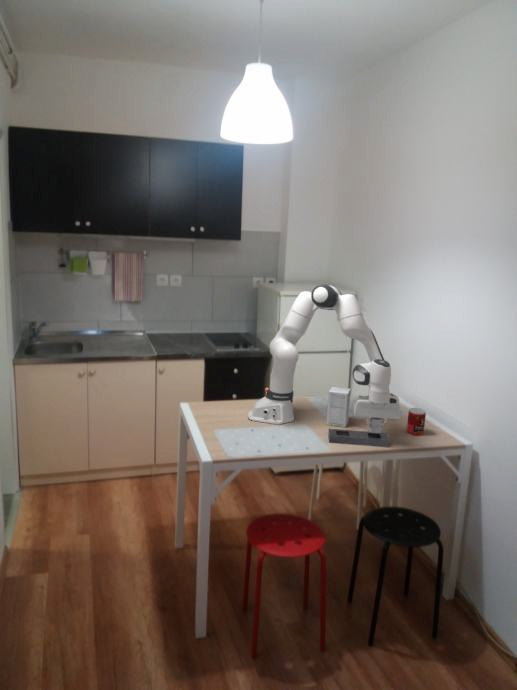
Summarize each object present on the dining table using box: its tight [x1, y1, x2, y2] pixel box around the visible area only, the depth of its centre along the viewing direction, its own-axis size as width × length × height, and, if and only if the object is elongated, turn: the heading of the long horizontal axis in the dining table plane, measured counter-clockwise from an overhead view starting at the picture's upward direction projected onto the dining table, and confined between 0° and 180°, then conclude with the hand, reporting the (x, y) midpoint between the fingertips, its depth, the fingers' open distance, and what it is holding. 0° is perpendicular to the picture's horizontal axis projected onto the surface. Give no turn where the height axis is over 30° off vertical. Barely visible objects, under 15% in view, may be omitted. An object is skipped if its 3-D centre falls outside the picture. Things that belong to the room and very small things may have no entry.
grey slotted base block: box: [327, 428, 390, 448], centre depth 256 cm, size 26×9×3 cm, turn 85°
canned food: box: [406, 407, 427, 437], centre depth 268 cm, size 8×8×11 cm
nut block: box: [369, 417, 382, 433], centre depth 254 cm, size 4×4×6 cm
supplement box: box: [326, 386, 352, 428], centre depth 275 cm, size 10×9×17 cm
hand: (375, 426), depth 254 cm, fingers closed on nut block, 4 cm apart
